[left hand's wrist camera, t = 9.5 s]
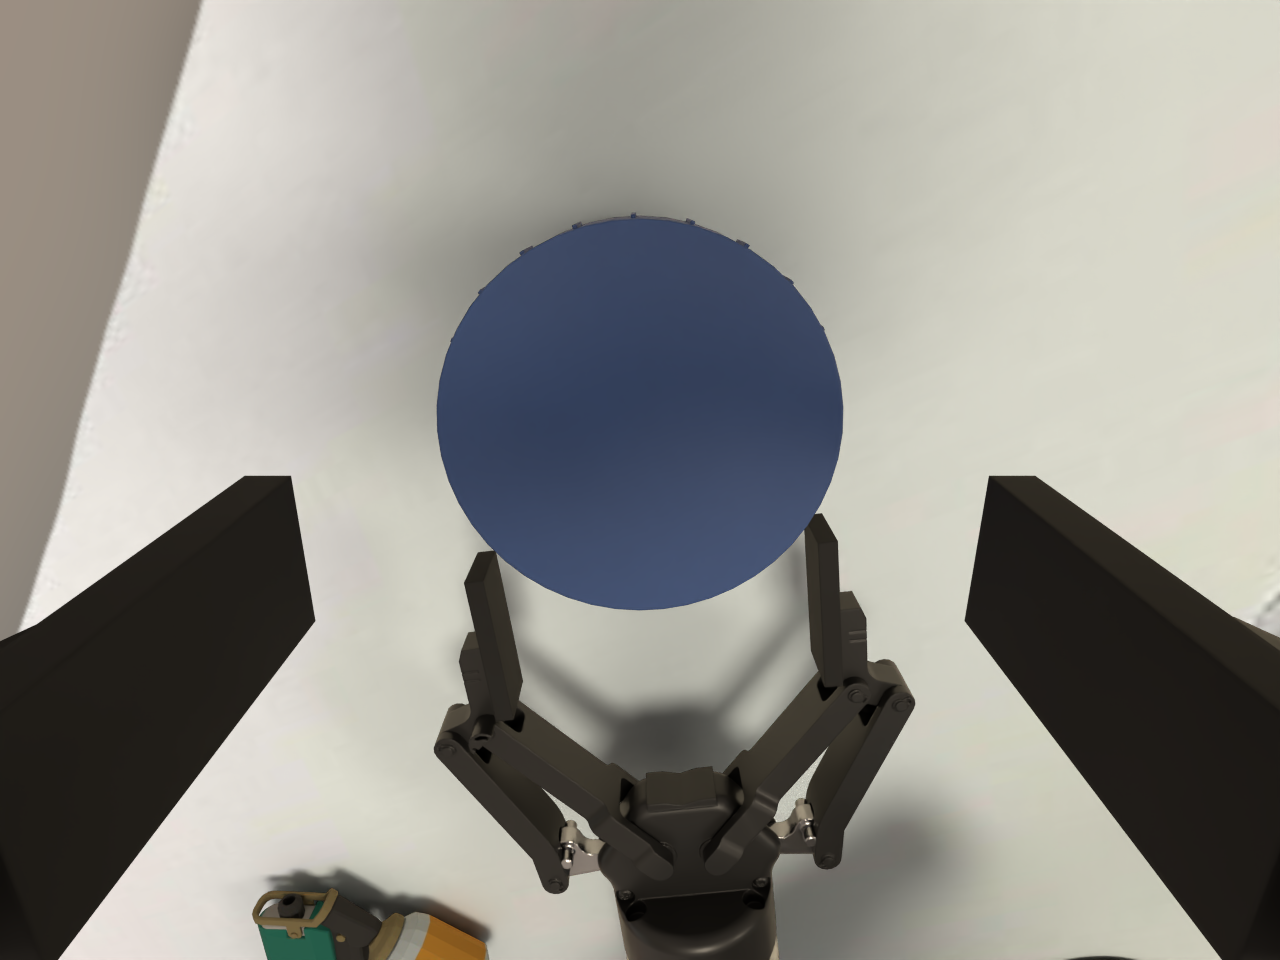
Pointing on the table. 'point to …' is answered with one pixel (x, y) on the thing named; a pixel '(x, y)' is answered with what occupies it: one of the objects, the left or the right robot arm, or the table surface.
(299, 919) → the spray gun
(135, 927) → the table surface
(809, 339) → the lid
